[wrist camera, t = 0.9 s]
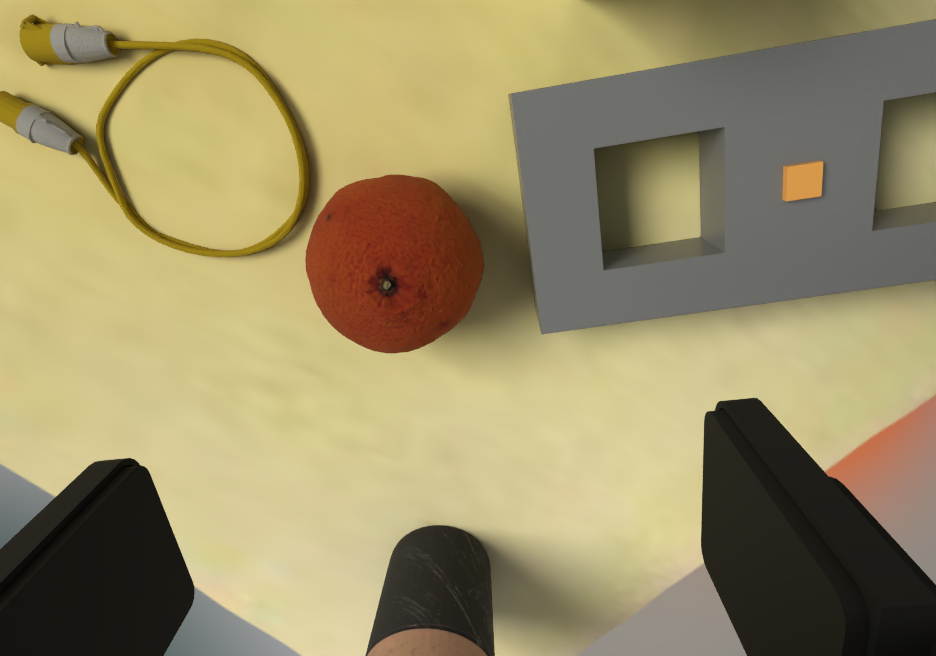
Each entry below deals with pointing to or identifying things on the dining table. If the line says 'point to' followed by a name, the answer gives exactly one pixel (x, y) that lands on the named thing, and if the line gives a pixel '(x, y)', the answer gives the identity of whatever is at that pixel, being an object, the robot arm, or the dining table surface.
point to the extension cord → (93, 45)
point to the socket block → (729, 180)
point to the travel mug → (435, 597)
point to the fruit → (393, 263)
